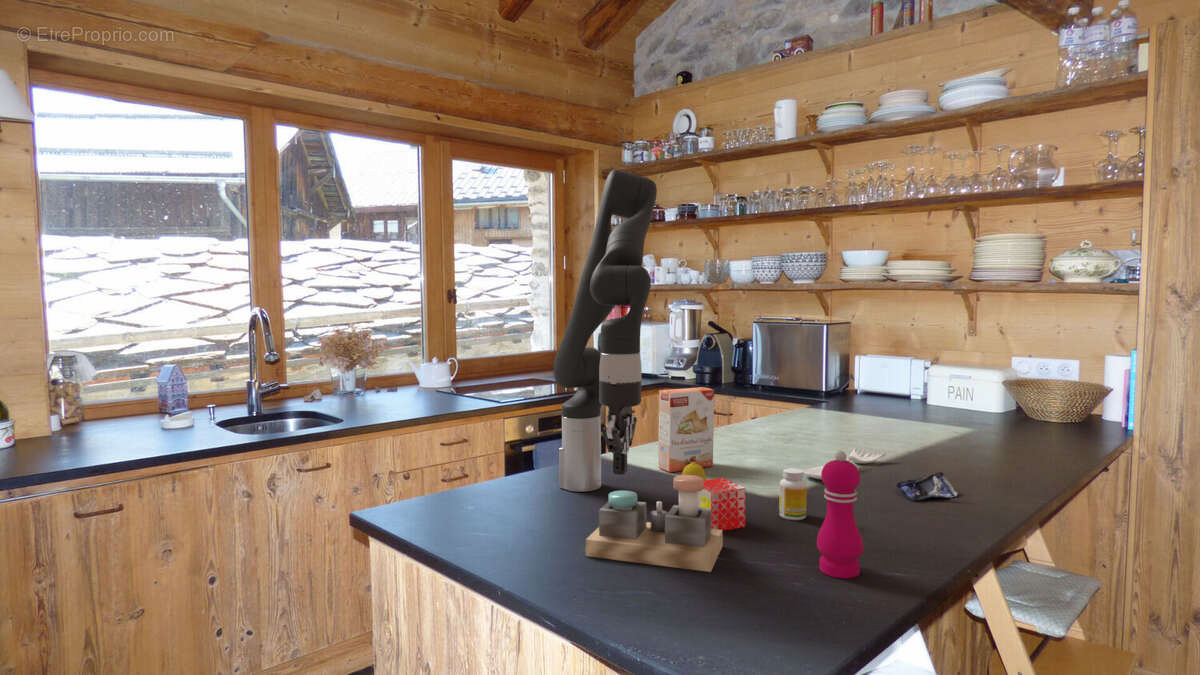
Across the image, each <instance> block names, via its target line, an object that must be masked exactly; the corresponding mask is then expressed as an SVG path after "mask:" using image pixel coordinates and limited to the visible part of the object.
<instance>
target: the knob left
mask: <svg viewBox="0 0 1200 675" xmlns="http://www.w3.org/2000/svg"><path fill="white" fill-rule="evenodd" d="M608 501H609V505H610V506H612V507H614V509H616V510H626V511H632V507H634V506H636V505H637V502H638V494H637V492H635V491H630V490H614V491H611V492H609V493H608Z"/></svg>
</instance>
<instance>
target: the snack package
mask: <svg viewBox="0 0 1200 675" xmlns="http://www.w3.org/2000/svg"><path fill="white" fill-rule="evenodd" d="M924 476H925V477H919V478H916V479H907V480H904V481H901V482H898V483H897V484H896V487H897V489H900V490H901V491H902V493H903V495H904V496H905V499H908V500H910V501H912V502H916V501H920V500H921V501H922V500H926V499H930V498H941V499H951V498H953V497H957V496H958V492H957V491H955V489H954V487H953V486H952V484H951V483H950V482H949V481H948V479H947V477H946V475H945V474H944V472H940V471H939V472H936V473H932V474H929V475H927V474H925V475H924ZM899 492H900V491H899Z"/></svg>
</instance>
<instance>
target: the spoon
mask: <svg viewBox="0 0 1200 675" xmlns="http://www.w3.org/2000/svg"><path fill="white" fill-rule="evenodd" d="M865 453H866V451H865V450H863V451H862V449H859V450H858V448H857V447H856V446H855V447H854V448H853V450H852V451H851V453H850V455H846V456H847V458H846V460H845V461H849V462H851V461H852V463H853V462H854V463H856V464H862V465H863V464H869V463H872V462H875V461H877V460H880V459H882V458H884V457H885V456H886V455H887V452H886V451H884V452H883V453H881V452H878V453H877V452H874V453H873V454H872V453H871V452H868V453H866V454H865ZM864 454H865V455H864ZM871 454H872V455H871ZM824 466H825V465H821V466H816V467H812V468H808V469H802V470H803V471H804V476H806V477H810V478H813V479H815V480H821V481H822V477H821V474H822V469H823V467H824Z"/></svg>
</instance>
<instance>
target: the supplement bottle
mask: <svg viewBox="0 0 1200 675" xmlns="http://www.w3.org/2000/svg"><path fill="white" fill-rule="evenodd" d="M803 470H804V469H800V468H797V467H796V468H793V467H788V468H787V467H786V468H785V469H783V471H782V473H783V474H782V476H783V478H782V479H781V480H780V482H779V489H778V490H779V495H778V496H779V500H778V502H779V503H778V506H779V507H778V510H779V512H778V513H779V516H780V517H781V518H783V519H785V520H790V521H801V520H804V519H805V518H806V517H807V498H808V497H807V495H808V494H807V493H808V492H807V491H808V487H807V486H808V485H807V482H806V481H805V480H804V478H805V474H804V471H803Z"/></svg>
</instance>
